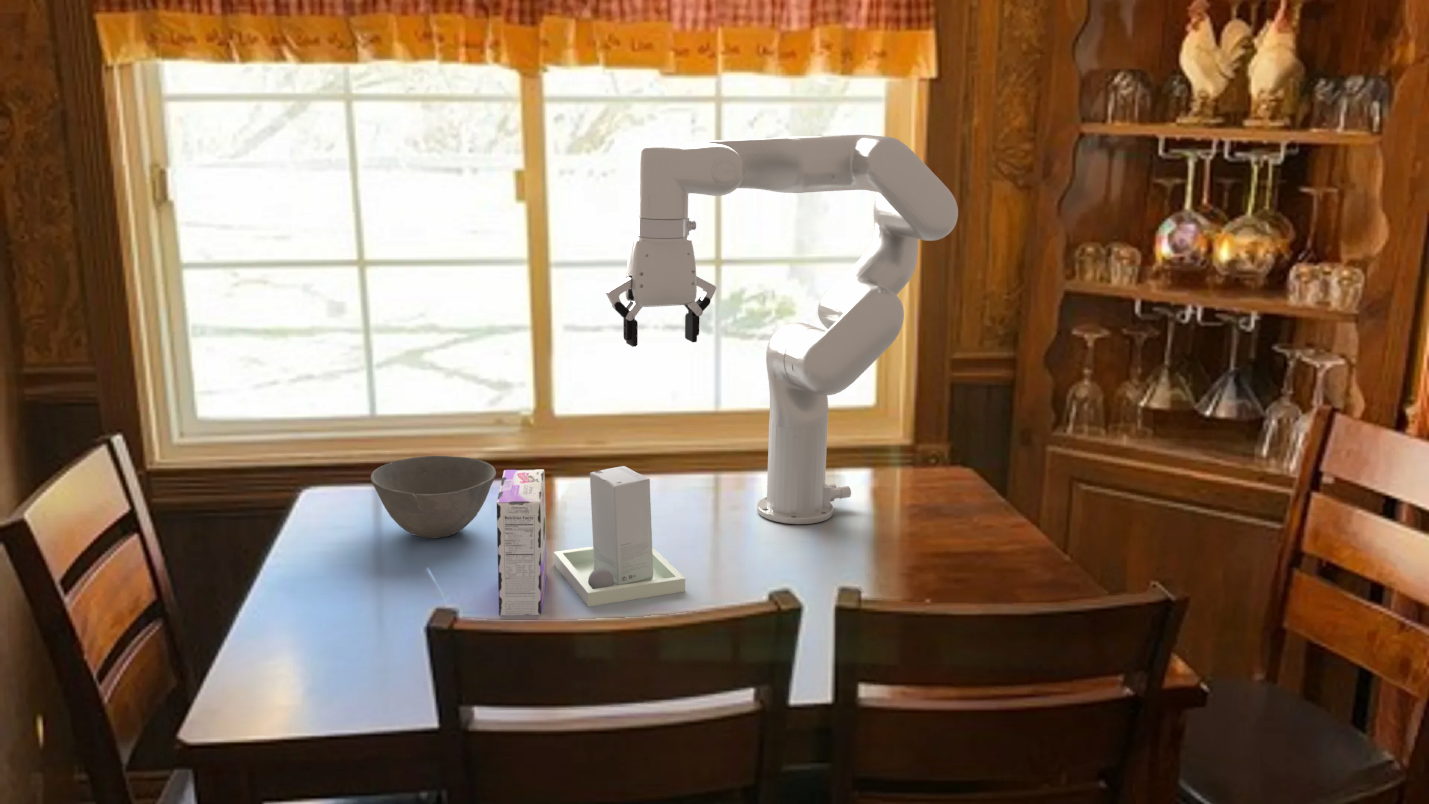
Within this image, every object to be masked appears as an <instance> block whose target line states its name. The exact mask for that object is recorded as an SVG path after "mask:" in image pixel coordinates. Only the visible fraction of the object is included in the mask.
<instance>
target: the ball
mask: <svg viewBox="0 0 1429 804" xmlns="http://www.w3.org/2000/svg"><path fill="white" fill-rule="evenodd" d="M588 584H589V585H590V586H591V588H592V589H598V588H604V587H611V586H613V585H614V578H613V575H612V574H611V572H610V571H608V570H606V569H602V568H600V569H596V570H594V571H593V572H592V573H591V574H590V576H589V579H588Z"/></svg>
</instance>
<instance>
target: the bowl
mask: <svg viewBox="0 0 1429 804" xmlns="http://www.w3.org/2000/svg"><path fill="white" fill-rule="evenodd" d="M496 475H497V472H496V468H495V467H494V466H493V465H492V464H490V463H489V462H487V461H484V460H481V459H477V458H474V457H473V458H472V457H466V456H453V455H451V456H447V455H427V456H415V457H410V458H405V459H399V460H395V461H392V462H388V463H385V464H384V465H381V466H378V467H377V468H376V469H374V470H373V471H372V473H371V475H370V482H371V483H372V486H373V487H374V489H375V491H376V493H377V494H378V495H377V496H378V497H379V500H380V501H381V503H382V505H383V506H384V508H385V510H386V512H387V514H389V516H390V518H392V519H393V521H394V522H395V523H396V524H397V525H398V526H399V527H400V528H402V529H403V530H405V532H407V533H409V534H411V535H413V536H417V537H421V538H425V539H442V538H446V537H450V536H453V535H454V534H457V533H459V532H461V531H462V530H464V528H466V527H467V526H468V525H469V524H470V523H471V522H472V521H473V520H474V519H475V517H476V516H477V515H478V514H479V513H480V511H481V509H482V508H483V506H484V503H485V502H486V500H487V497H488V495H489V492H490V490H491V487H492V484H493V483H494V480H495V478H496Z"/></svg>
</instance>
